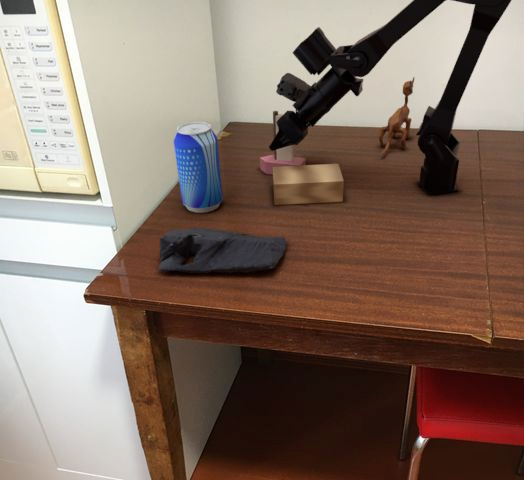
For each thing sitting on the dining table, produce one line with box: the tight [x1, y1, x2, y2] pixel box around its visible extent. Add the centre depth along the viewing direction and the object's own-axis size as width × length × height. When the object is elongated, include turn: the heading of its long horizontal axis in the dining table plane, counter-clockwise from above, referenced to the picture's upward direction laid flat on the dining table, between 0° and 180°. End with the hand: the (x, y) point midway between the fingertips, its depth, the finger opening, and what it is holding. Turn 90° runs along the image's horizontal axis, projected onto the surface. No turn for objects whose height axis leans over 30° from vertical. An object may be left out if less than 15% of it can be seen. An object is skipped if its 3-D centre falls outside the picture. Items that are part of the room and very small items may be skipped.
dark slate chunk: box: [157, 227, 288, 274], centre depth 105 cm, size 15×22×5 cm
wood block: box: [272, 163, 345, 206], centre depth 124 cm, size 14×9×4 cm, turn 91°
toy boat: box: [259, 110, 307, 176], centre depth 131 cm, size 10×4×13 cm, turn 70°
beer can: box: [173, 121, 224, 214], centre depth 119 cm, size 8×8×16 cm
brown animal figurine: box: [378, 76, 415, 156], centre depth 140 cm, size 18×7×14 cm, turn 153°
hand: (277, 141), depth 132 cm, fingers open, 9 cm apart
